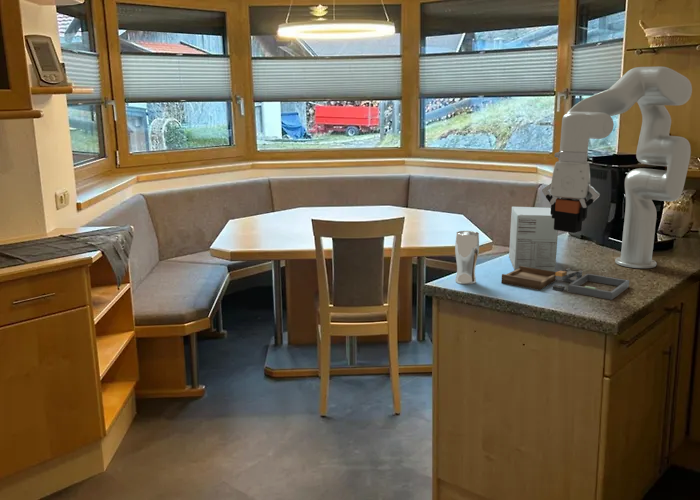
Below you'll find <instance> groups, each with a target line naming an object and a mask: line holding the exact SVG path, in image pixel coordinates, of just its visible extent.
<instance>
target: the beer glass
mask: <svg viewBox="0 0 700 500" xmlns="http://www.w3.org/2000/svg"><path fill="white" fill-rule="evenodd" d="M479 252H480V233H479V232H477V231H472V230H460V231H456V236H455V247H454V253H455V260H456V275H455V280H454V281H455V283H457V284H459V285H474V284H476V283H477V279H476V278H477V277H476V266H477V262H478V257H479Z"/></svg>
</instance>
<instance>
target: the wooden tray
mask: <svg viewBox="0 0 700 500" xmlns="http://www.w3.org/2000/svg"><path fill="white" fill-rule="evenodd" d="M556 272H557V271H547V270H541V269H536V268H530V267H524V266H519V269H516V270H514V269H513V270H512V271H510V272H509V273H506V274H505V273H502V274H501V280H500V281H501V284H505V285H511V286H516V287H521V288H526V289H531V290H532V289H533V290H537V291H541V290H543V289H545V288H546V287H548V286H550V285H552V284H553V283H555V282H557V281H558V280H556V279H555V278H556V275H555V273H556Z"/></svg>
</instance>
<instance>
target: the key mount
mask: <svg viewBox="0 0 700 500" xmlns="http://www.w3.org/2000/svg"><path fill="white" fill-rule="evenodd" d="M564 271H566V272H567V271H572V268H569V267H568V268H566V269H565V270H564ZM576 272H577V276H574V277H571V278H568V279H565V280H562V281H563V282H567V283H572V282H574V281H575V280H577V279H579V278H580V277H582V276H583V270H581V269H579V270H578V271H576ZM565 289H566V286H562V285H559V284H555V285H553V286H552V290H554V291H559V292H563V291H565Z"/></svg>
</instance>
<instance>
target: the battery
mask: <svg viewBox="0 0 700 500" xmlns="http://www.w3.org/2000/svg"><path fill="white" fill-rule="evenodd" d="M581 207H582V205H581V203H580V200H579V199H571V198H561V197H560V198H559V199H556V204H555V217H554V230H558V232H566V233H572V234H576V233H579V232H581V231H582V227H583V221H582V222H580V221H579V215H580V208H581Z"/></svg>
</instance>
